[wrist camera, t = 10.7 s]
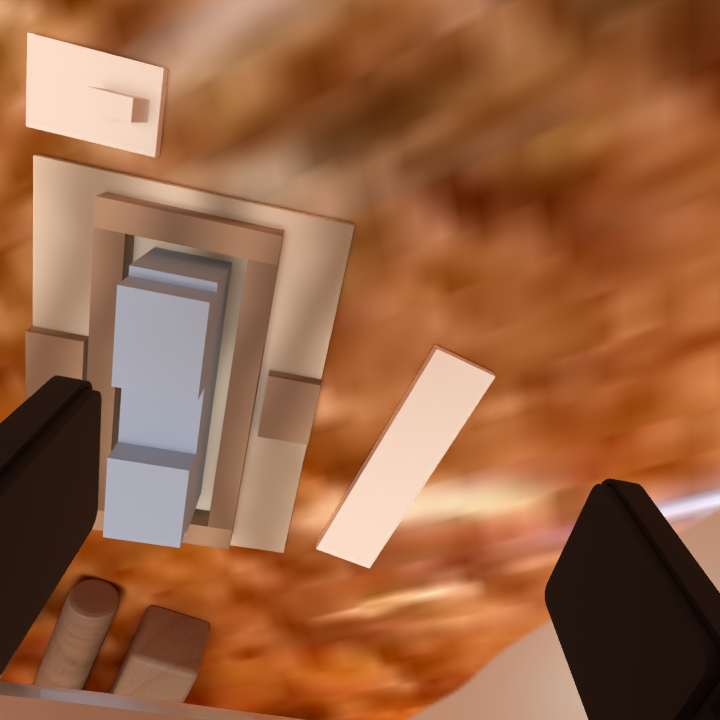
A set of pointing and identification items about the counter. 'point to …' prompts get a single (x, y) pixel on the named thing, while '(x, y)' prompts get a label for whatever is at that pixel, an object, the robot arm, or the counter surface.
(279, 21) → the counter surface
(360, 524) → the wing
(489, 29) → the counter surface
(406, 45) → the counter surface
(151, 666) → the wooden block set
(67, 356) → the jig
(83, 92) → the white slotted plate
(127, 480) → the notched grey stepped bar
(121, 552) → the counter surface
